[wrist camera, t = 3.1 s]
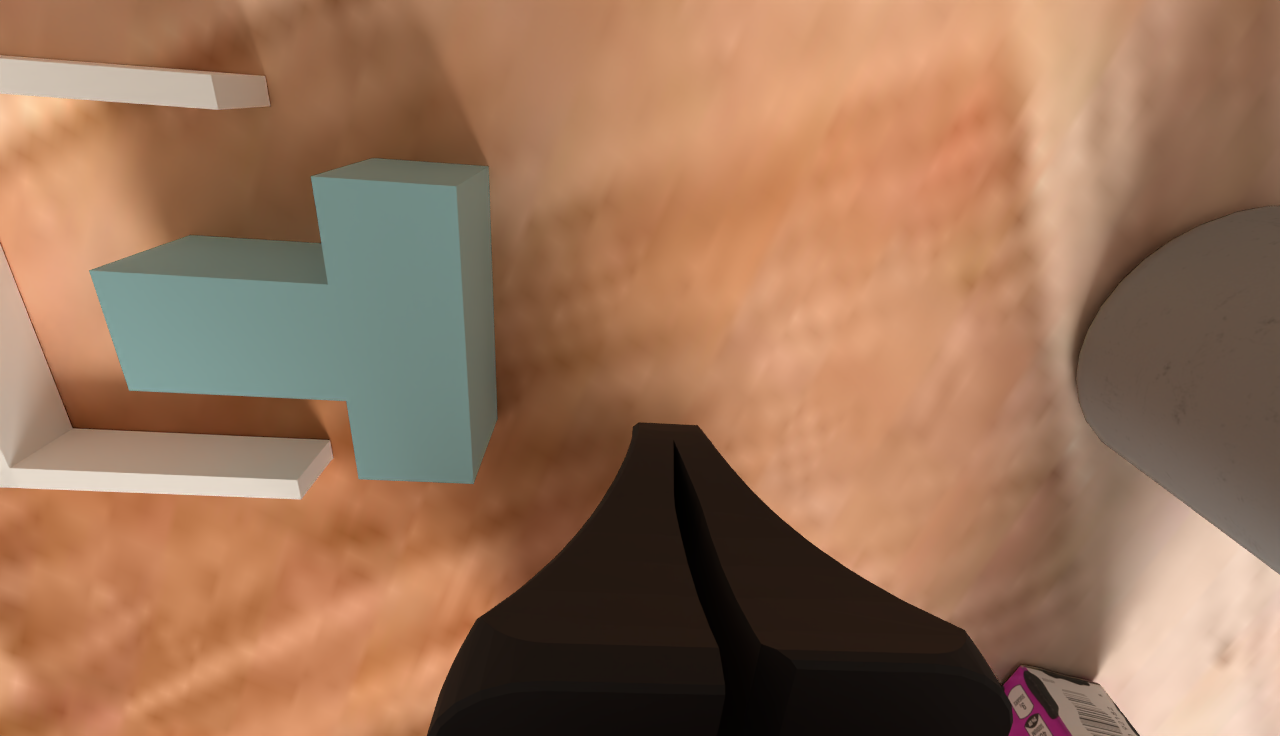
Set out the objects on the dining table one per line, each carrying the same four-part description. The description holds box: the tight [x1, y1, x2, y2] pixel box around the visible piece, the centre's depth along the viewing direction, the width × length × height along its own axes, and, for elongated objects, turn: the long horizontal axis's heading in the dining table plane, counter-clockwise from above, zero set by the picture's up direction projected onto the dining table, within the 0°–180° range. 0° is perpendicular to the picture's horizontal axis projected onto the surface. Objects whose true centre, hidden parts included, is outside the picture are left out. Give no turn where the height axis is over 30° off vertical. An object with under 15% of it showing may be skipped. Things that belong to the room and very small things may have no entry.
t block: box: [89, 158, 498, 484], centre depth 18 cm, size 10×9×4 cm
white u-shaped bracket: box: [0, 55, 333, 499], centre depth 18 cm, size 10×13×2 cm
